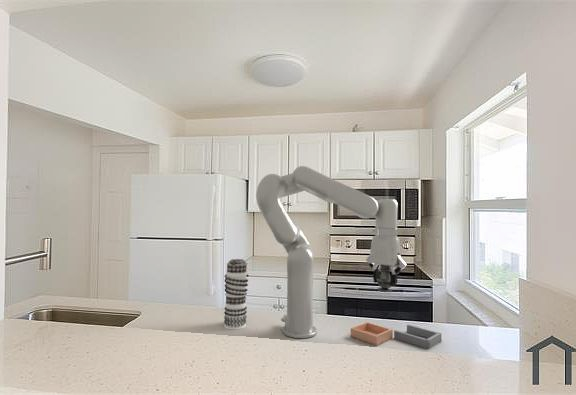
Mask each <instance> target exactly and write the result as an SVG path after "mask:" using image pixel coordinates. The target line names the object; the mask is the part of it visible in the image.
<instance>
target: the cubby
mask: <svg viewBox="0 0 576 395" xmlns="http://www.w3.org/2000/svg"><path fill="white" fill-rule="evenodd" d="M406 332H407V333H406ZM406 332H404V331H399V330H396V329H395V330H393V337H394V339H396V340H398V341H403V342H406V343H409V344H412V345H415V346H418V347H422V348H425V349H427V350H428V349H431V348H432V347H434V346H436V345H437V344H438V343H440V342H442V333H441V332H438V331H434V330H431V329H428V328H427V329H426V328H422V327H419V326H416V325H413V324H406ZM419 336H420V337H419Z"/></svg>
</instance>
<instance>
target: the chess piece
mask: <svg viewBox="0 0 576 395" xmlns="http://www.w3.org/2000/svg"><path fill="white" fill-rule="evenodd" d="M379 271H380V278H379V279H377V282H376V283H377V285H378V286H379V287H378V288H377V290H376V291H379V292H381V293H393V290H392V289H391V287H392V286H391V285H390V275H391V274H390V272H392V271H391V268H390V266H385V265H380V268H379Z"/></svg>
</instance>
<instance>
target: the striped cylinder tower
mask: <svg viewBox="0 0 576 395" xmlns="http://www.w3.org/2000/svg"><path fill="white" fill-rule="evenodd" d="M247 265H248V263H247V261H246V260H244V259H243V258H241V259H239V258H238V259H237V258H235V259H234V258H233V259H230V260H229V261H228V262H227V263H226V273H225V274H224V278H225V279H224V283H225V284H224V292H225V293H224V295H225V302H224V303H225V305H224V306H225V307H224V310H225V311H224V313H223V314H224V316H223V319H224V320H223V323H224V325H223V327H224V328H225V329H227V330H235V331H236V330H240V329H241V330H242V329H244V328H246V327H245V326H247V315H246V314H247V308H248V307H247V302H246V299H247V298H246V296H247V295H248V288H247V287H248V286H249V284H248V282H249V279H247V278H248V277H249V274H248V271H247V270H248V269H247V268H248V267H247Z"/></svg>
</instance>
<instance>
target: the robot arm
mask: <svg viewBox="0 0 576 395" xmlns="http://www.w3.org/2000/svg"><path fill="white" fill-rule="evenodd" d="M256 188H257V189H256V194H255V198H256V203H257V207H258V209H259V210H260V213H261V214H262V216H263V218H264V220H265V222H266V224H267V226H268V227H269V229H270V231H271V233H272V234H273V237H274V238H275V241H276V242H277V243H279V244H280V245H282V246H283V248H284V249H285V251H286V253H287V258H286V273H287V275H286V276H287V277H286V278H287V279H286V282H287V283H286V295H287V296H286V300H287V301H286V314H284V315H283V317H281V318H280V321H281V322H283V323H284V325H283V327H282V331H281V332H282V334H283V335H285V336H287V337H289V338H295V339H307V338H312V337H314V336H316V335H317V333H318V332H317V331H318V330H317V328H316V326H313V322H314V320H313V318H314V316H313V315H314V314H313V313H314V308H313V307H314V261H315V254H314V249H313V248H312V245H311V244H310V243H309V241H308V240H307V238H306V236H305V235H304V233H303V231H302V230H301V227H299V225H298V224H297V222H296V221H294V220H292V218H291V217H290V216H289V214H288V212H287V211H286V208H285V206H284V205H283V204H282V202H281V199H280V198H285V197H288V196H291V195H295V194H299V193H301V192H306V193H309V194H310V195H313V196H315V197H317V198H319V199H321V200H323V201H324V202H327V203H330V204H334V205H337V206H340V207H343V208H344V209H347V210H349V211H350V212H353V213H355V215H356V216H357V217H359V218H361V219H370V218H371V219H375V227H374V229H372V233H373V234H374V236H372V240H371V244H370V251H369V256H368V257H366V259H365V261H366V262H367V264H369V267H370V268H371V271H372V272H373V273H372V275H373V276H372V279H373V283H377V279H379V278H380V276H381V270H380V268H381V265H385V266H390V270H391V271H390V272H391V274H390V285H391V287H394V286H397V283H398V274H400V272H402V271H403V269H405V268H406V267H407V266H408V265H407V263H406V262H405V261H404V259H403V258H402V257H401V256H402V255H401V253H402V252H401V244H400V239H399V237H398V205H399V204H398V202H397V200H396V199H391V198H390V199H388V198H380V199H375V198H374V197H372V196H370V195H368V194H366V193H364V192H362V191H360V190H358V189H356V188H353V187H350V186H349V185H346V184H344V183H342V182H339V181H338V180H335V179H334V178H330V177H329V176H327V175H325V174H322V173H321V172H318V171H316V170H314V169H312V168H311V167H308V166H305V165H300V166H297V167H296V168H295V169H294V170H293V172H292V173H289V174H286V175H281V176H280V175H278V174H276V173H269V174H266V175H265V176H264V177H263V178H262V179H261V180H260V182H259V183H258V186H257V187H256Z"/></svg>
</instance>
